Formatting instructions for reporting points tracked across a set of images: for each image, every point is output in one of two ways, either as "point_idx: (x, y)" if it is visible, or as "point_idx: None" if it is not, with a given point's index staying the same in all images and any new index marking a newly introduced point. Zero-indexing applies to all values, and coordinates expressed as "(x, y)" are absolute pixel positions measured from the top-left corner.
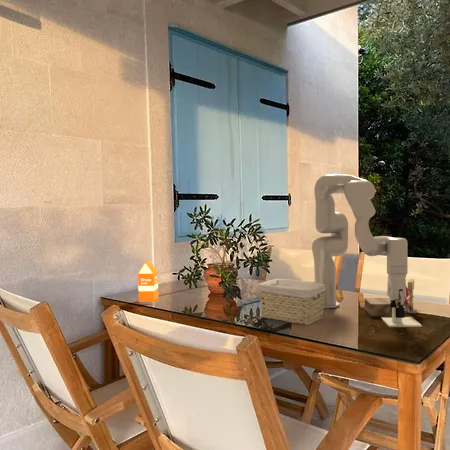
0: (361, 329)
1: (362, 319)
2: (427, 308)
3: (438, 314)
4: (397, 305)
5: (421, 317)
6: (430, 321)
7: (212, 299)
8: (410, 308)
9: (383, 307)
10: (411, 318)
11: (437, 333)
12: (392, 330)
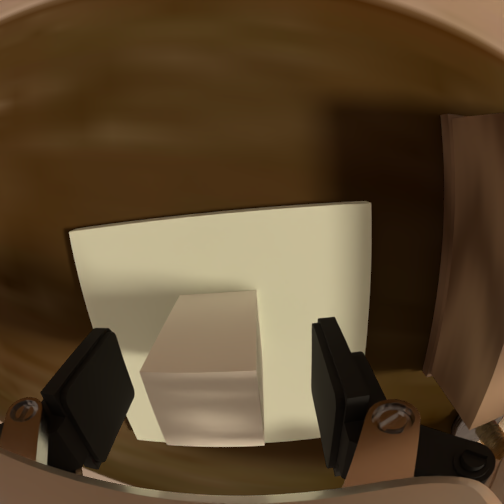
0: (16, 31)
1: (318, 16)
2: None
3: None
4: (6, 419)
5: None
6: (279, 483)
7: None
8: (484, 430)
9: (495, 266)
10: (316, 428)
11: None
12: (8, 239)
